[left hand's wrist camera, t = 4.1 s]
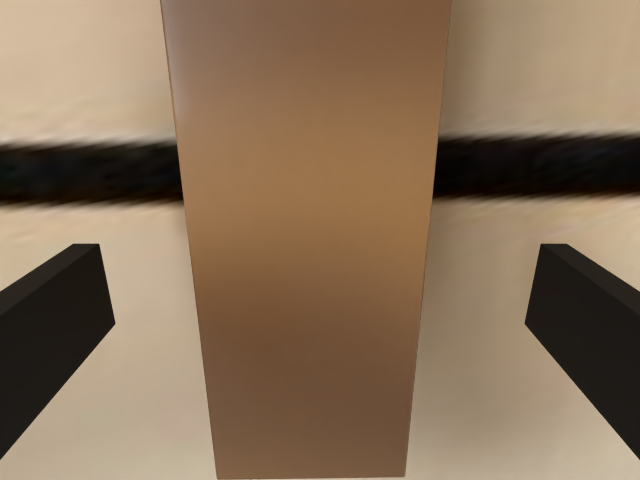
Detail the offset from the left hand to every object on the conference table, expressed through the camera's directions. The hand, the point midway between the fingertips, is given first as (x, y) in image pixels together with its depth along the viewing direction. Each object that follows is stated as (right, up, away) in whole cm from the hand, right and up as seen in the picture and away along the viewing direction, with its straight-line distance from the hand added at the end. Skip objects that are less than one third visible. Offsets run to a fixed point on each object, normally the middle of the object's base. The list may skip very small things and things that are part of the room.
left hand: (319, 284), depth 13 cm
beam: (0, +34, -8) cm, 35 cm away
